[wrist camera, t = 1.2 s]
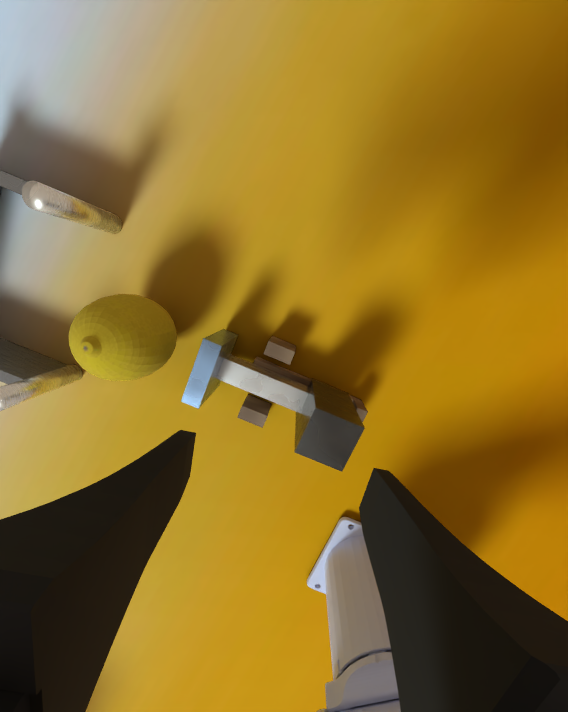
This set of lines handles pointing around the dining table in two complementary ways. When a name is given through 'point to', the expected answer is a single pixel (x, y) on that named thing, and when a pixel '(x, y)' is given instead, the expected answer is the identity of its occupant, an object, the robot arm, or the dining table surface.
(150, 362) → the lemon
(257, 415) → the track
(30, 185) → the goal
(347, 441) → the rod
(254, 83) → the dining table surface
